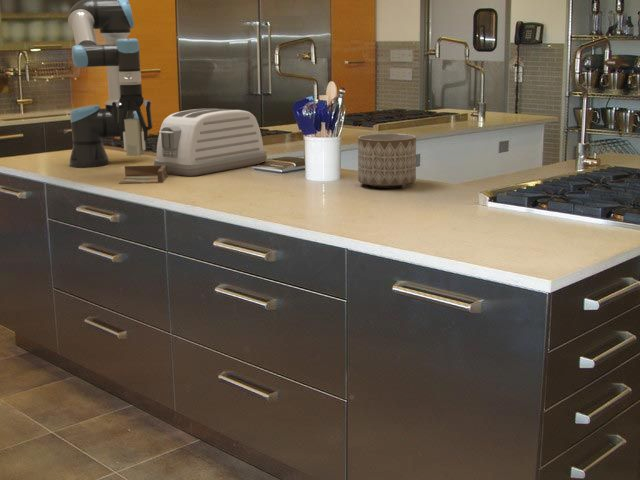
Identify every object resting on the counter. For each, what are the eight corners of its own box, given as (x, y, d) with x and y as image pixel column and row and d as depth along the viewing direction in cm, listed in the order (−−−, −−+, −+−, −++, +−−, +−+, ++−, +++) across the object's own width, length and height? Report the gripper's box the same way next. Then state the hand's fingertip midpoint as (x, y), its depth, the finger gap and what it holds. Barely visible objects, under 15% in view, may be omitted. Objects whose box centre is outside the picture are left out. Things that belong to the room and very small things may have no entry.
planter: (348, 183, 304) (348, 135, 300) (398, 178, 312) (398, 131, 308) (374, 192, 287) (373, 141, 283) (426, 187, 294) (426, 137, 291)
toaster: (145, 173, 335) (141, 113, 329) (230, 158, 368) (227, 104, 363) (186, 179, 320) (183, 116, 315) (270, 163, 354) (269, 106, 349)
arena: (126, 176, 326) (125, 166, 326) (167, 175, 327) (166, 164, 326) (119, 183, 312) (118, 172, 311) (162, 182, 312) (161, 171, 312)
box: (144, 154, 318) (142, 118, 315) (139, 156, 313) (137, 119, 310) (130, 154, 319) (128, 118, 316) (125, 155, 314) (123, 119, 311)
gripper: (101, 85, 306) (106, 151, 311) (156, 83, 307) (160, 150, 312) (105, 83, 313) (110, 149, 319) (158, 82, 314) (162, 147, 320)
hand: (134, 149), depth 316 cm, fingers closed on box, 6 cm apart
